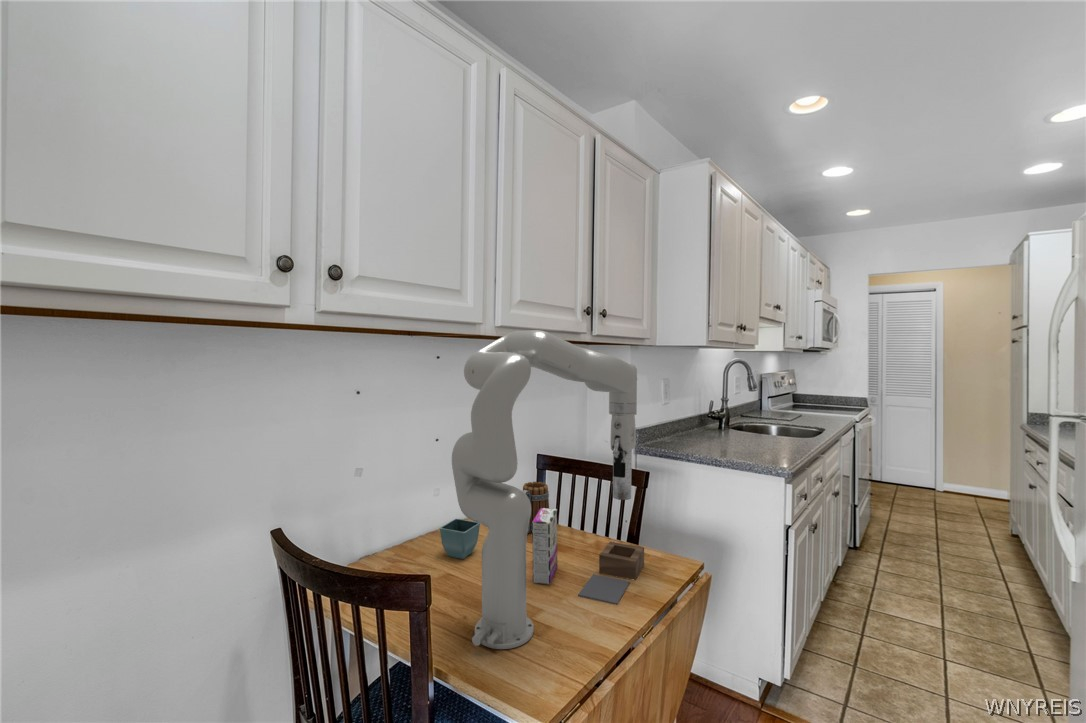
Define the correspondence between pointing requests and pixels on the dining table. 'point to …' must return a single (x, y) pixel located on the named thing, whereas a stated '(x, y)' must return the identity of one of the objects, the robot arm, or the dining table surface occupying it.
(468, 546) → the flower pot
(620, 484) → the metal peg
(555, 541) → the candy bar box
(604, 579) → the rubber mat
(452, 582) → the dining table surface
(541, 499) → the mug
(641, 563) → the eye block
